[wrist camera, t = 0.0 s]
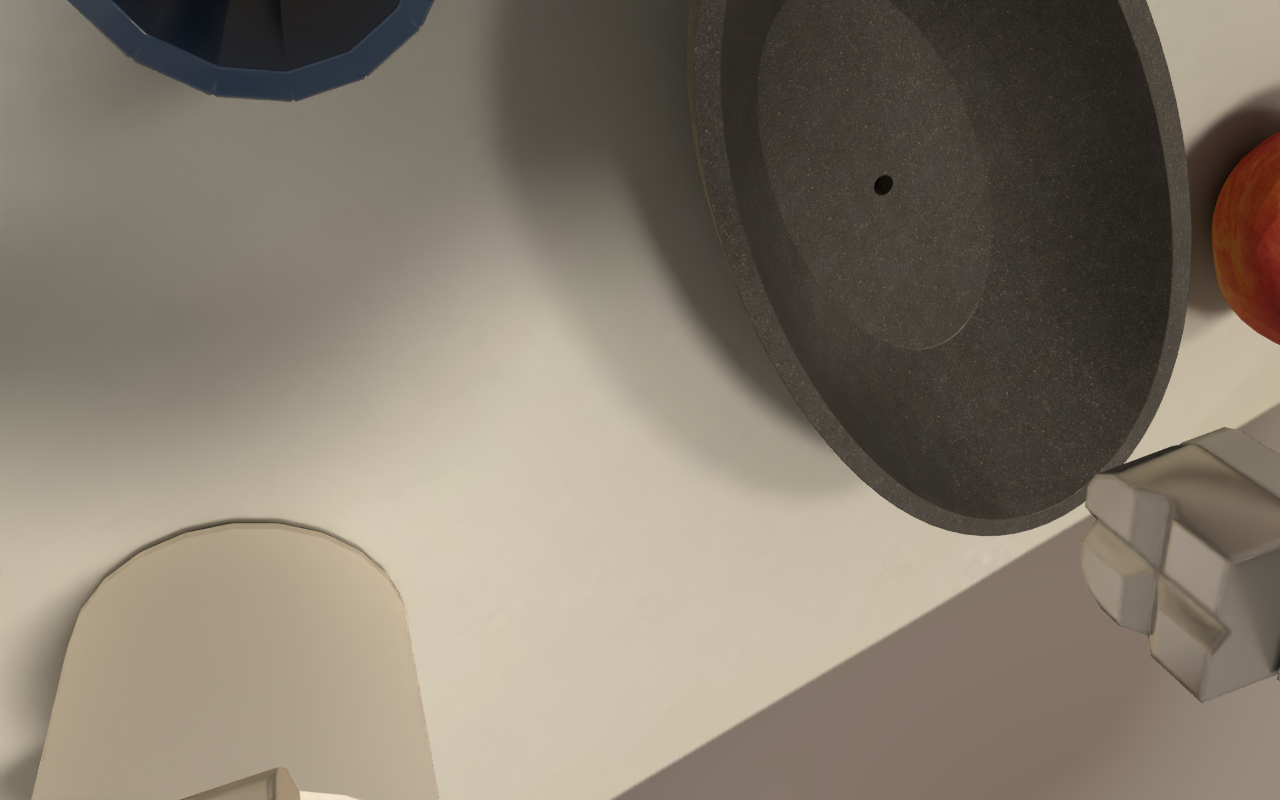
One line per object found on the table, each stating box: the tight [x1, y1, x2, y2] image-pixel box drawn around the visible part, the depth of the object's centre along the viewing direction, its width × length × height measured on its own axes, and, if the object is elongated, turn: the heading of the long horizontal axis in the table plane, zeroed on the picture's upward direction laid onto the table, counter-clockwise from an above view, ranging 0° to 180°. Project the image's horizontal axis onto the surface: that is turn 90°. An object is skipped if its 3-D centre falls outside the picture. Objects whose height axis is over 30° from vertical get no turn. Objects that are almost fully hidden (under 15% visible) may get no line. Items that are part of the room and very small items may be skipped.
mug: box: [31, 523, 440, 800], centre depth 28 cm, size 13×10×10 cm
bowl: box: [687, 0, 1191, 536], centre depth 28 cm, size 12×22×6 cm, turn 30°
